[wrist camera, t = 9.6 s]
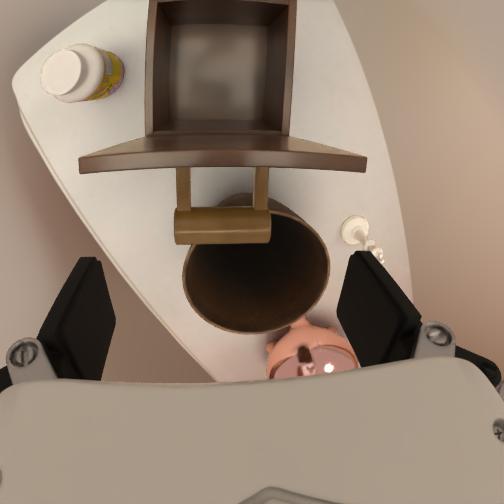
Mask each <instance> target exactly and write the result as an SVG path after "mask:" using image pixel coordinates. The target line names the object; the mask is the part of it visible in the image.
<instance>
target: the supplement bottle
mask: <svg viewBox="0 0 504 504" xmlns="http://www.w3.org/2000/svg"><path fill="white" fill-rule="evenodd" d="M123 72H124V70H123V65H122V62H121V60H120V59H119V58H118V57H117V56H116V55H115V54H113V53H111V52H108V51H105V50H102V49H99V48H96V47H93V46H90V45H86V44H75V45H72V46H69V47H67V48H65V49H64V50H60V51H57V52H55V53H54V54H52V55H51V56H50V57H49V58H48V59H47V60H46V62H45V63H44V65H43V68H42V71H41V84H42V86H43V88H44V90H45V91H46V92H47V93H49V94H51V95H54V96H55V97H56V98H57V99H58V100H60V101H63V102H68V103H73V102H80V101H88V100H96V99H102V98H105V97H107V96H109V95H111V94H112V93H113V92H114V91H115V90H116V89H117V88H118V87H119V85H120V83H121V81H122V78H123Z"/></svg>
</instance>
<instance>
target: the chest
mask: <svg viewBox="0 0 504 504" xmlns="http://www.w3.org/2000/svg"><path fill="white" fill-rule="evenodd" d="M296 11H297V0H149V9H148V22H147V37H146V58H145V137H148V136H166V135H193V134H247V135H275V136H289V128H290V114H291V100H292V85H293V69H294V51H295V33H296Z"/></svg>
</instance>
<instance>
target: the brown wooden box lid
mask: <svg viewBox="0 0 504 504" xmlns="http://www.w3.org/2000/svg"><path fill="white" fill-rule="evenodd" d="M78 161H79V173H80V174H88V173H98V172H110V171H123V170H138V169H157V168H176V189H177V208H176V209H175V212H174V237H175V243H176V244H177V245H191V244H240V243H268V242H269V240H270V236H271V215H270V210H269V208H268V207H267V199H268V179H269V167H275V168H301V169H320V170H335V171H349V172H361V173H365V172H366V164H367V157H364V156H361V155H358V154H355V153H351V152H348V151H344V150H341V149H337V148H334V147H330V146H326V145H323V144H319V143H315V142H311V141H307V140H303V139H299V138H295V137H290V136H275V135H247V134H193V135H166V136H148V137H142V138H139V139H135V140H132V141H128V142H125V143H122V144H118V145H115V146H112V147H109V148H106V149H103V150H100V151H97V152H94V153H91V154H88V155H85V156H82V157H79V159H78ZM191 167H254V180H253V206H234V207H191Z"/></svg>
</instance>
